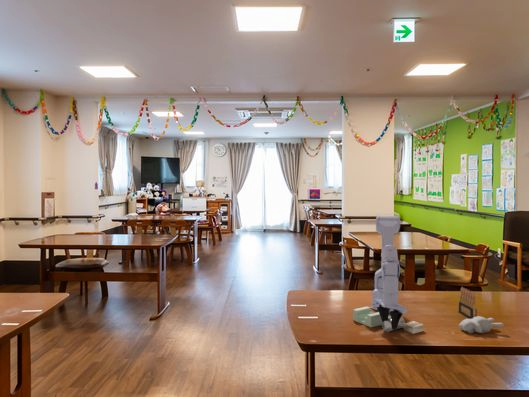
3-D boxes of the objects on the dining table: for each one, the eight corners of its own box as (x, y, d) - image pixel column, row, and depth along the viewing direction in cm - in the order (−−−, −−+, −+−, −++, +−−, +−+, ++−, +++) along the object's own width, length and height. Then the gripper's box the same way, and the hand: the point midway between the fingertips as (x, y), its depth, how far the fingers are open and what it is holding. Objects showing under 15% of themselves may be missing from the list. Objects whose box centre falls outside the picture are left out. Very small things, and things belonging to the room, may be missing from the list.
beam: (384, 322, 160) (384, 316, 160) (394, 320, 163) (394, 314, 163) (413, 333, 148) (413, 327, 148) (423, 330, 151) (423, 324, 151)
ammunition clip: (476, 320, 163) (477, 292, 163) (472, 320, 163) (473, 292, 162) (462, 312, 174) (462, 285, 173) (458, 312, 174) (458, 285, 173)
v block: (352, 320, 163) (353, 309, 163) (366, 316, 167) (366, 306, 167) (370, 327, 155) (371, 316, 155) (384, 323, 159) (384, 313, 159)
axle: (381, 330, 152) (381, 320, 152) (397, 326, 157) (397, 316, 157) (390, 333, 149) (389, 322, 149) (405, 328, 153) (405, 318, 153)
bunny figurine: (454, 317, 156) (489, 311, 157) (455, 329, 156) (490, 324, 157) (468, 325, 146) (506, 320, 148) (470, 339, 146) (507, 333, 148)
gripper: (369, 289, 155) (368, 323, 156) (398, 298, 143) (397, 335, 143) (381, 287, 159) (380, 319, 159) (411, 295, 147) (410, 331, 147)
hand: (389, 326), depth 152 cm, fingers closed on axle, 4 cm apart
